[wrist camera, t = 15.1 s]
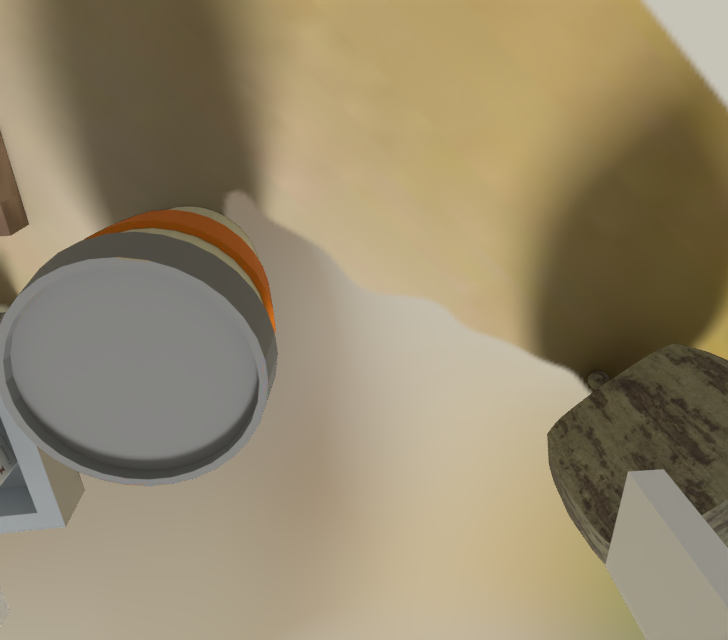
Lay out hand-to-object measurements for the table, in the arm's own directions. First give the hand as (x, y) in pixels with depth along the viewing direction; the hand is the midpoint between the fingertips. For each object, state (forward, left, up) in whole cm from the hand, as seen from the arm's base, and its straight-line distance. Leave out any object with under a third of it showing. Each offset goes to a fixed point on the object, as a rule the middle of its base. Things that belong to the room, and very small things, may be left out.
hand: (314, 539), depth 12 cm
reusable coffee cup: (+4, -8, -30) cm, 31 cm away
